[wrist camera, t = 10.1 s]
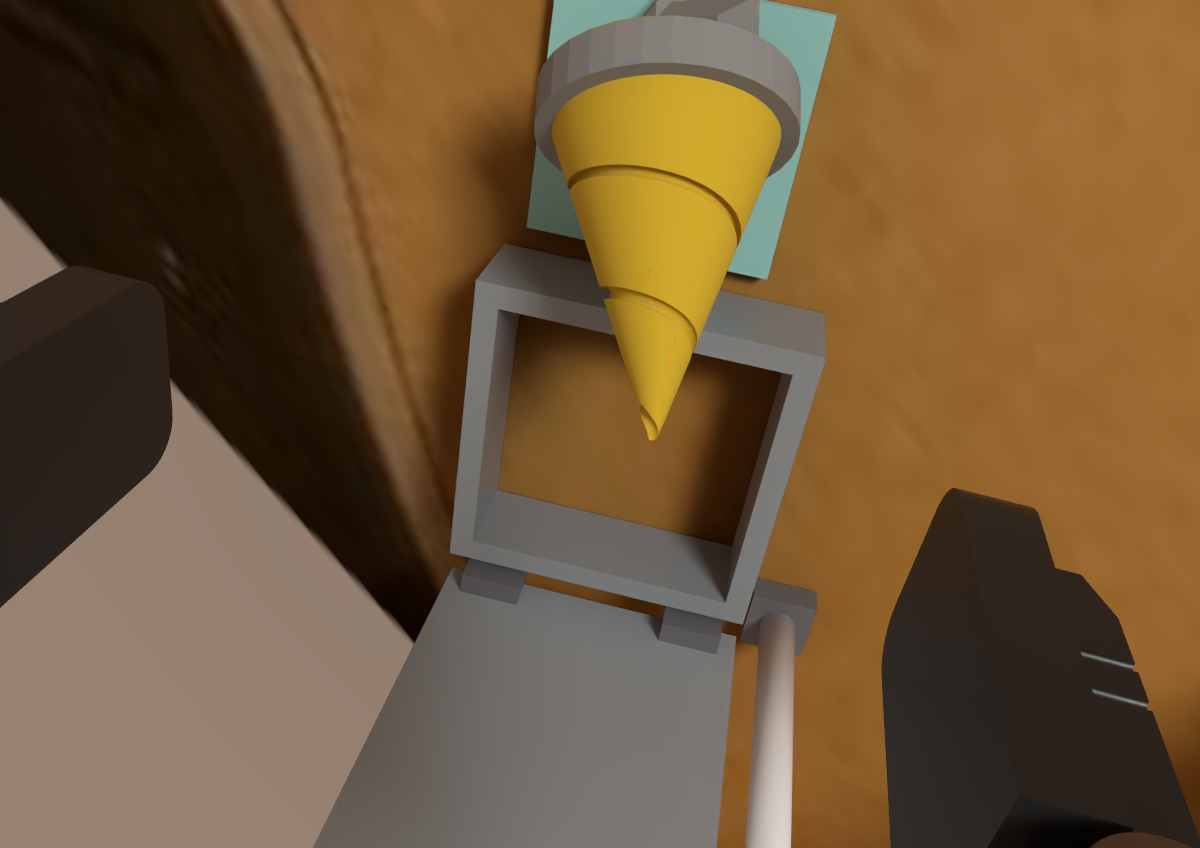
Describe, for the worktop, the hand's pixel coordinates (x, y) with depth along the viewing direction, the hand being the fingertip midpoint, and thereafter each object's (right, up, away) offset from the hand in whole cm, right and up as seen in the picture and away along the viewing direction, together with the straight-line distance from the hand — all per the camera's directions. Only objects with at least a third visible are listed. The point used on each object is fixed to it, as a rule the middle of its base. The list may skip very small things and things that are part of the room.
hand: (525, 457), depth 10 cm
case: (+3, -1, +17) cm, 18 cm away
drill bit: (+3, +7, +13) cm, 15 cm away
